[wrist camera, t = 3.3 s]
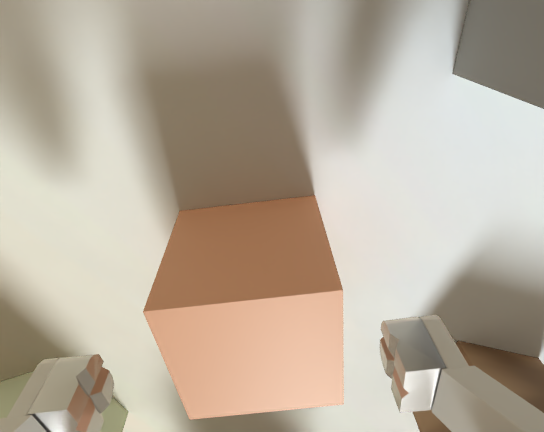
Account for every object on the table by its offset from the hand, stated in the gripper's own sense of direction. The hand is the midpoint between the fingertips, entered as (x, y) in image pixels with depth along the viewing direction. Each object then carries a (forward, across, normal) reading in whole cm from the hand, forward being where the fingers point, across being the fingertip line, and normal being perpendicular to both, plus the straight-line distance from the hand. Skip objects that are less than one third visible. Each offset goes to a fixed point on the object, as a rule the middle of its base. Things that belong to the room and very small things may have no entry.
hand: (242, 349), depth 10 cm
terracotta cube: (+5, 0, 0) cm, 5 cm away
